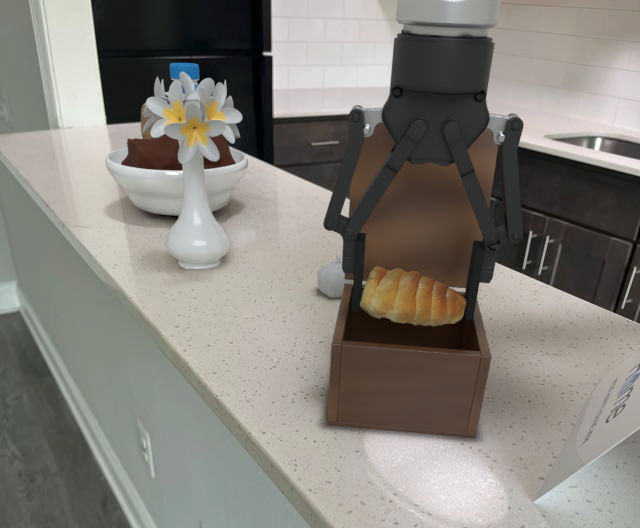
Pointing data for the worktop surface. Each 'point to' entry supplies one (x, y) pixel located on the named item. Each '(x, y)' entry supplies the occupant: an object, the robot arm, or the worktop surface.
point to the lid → (421, 212)
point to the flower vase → (194, 162)
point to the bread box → (407, 373)
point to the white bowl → (172, 173)
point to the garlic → (332, 279)
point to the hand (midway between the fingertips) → (411, 310)
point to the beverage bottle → (188, 68)
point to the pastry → (411, 298)
